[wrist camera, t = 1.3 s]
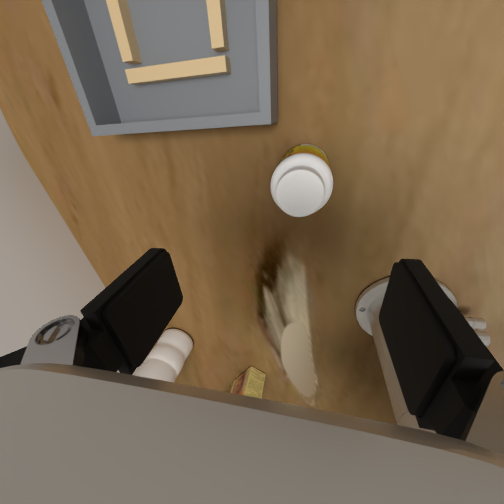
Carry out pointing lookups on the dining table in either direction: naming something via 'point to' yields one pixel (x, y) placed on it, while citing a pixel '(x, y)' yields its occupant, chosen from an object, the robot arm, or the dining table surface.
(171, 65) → the walled box
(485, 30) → the dining table surface
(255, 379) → the candy box
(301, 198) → the supplement bottle
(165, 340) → the water bottle
